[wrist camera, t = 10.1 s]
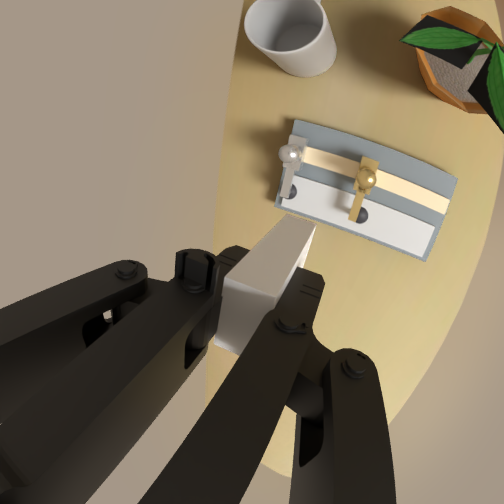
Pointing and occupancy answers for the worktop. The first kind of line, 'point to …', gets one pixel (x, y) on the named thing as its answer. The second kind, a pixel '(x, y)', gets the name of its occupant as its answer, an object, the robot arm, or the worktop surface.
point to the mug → (292, 35)
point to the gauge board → (381, 195)
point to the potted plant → (461, 61)
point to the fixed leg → (292, 160)
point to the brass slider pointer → (363, 184)
